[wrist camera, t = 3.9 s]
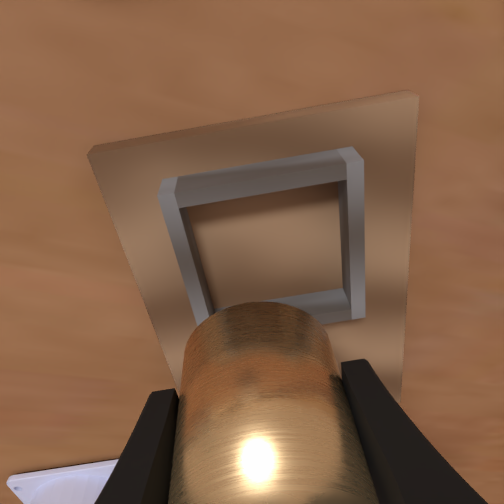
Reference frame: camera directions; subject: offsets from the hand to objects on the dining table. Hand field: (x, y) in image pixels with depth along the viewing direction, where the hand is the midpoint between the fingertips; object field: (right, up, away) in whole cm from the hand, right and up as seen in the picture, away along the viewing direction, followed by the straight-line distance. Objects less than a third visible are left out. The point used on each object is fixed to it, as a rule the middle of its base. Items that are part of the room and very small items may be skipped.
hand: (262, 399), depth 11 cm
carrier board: (+1, +2, +9) cm, 9 cm away
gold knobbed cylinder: (0, +1, +1) cm, 1 cm away
